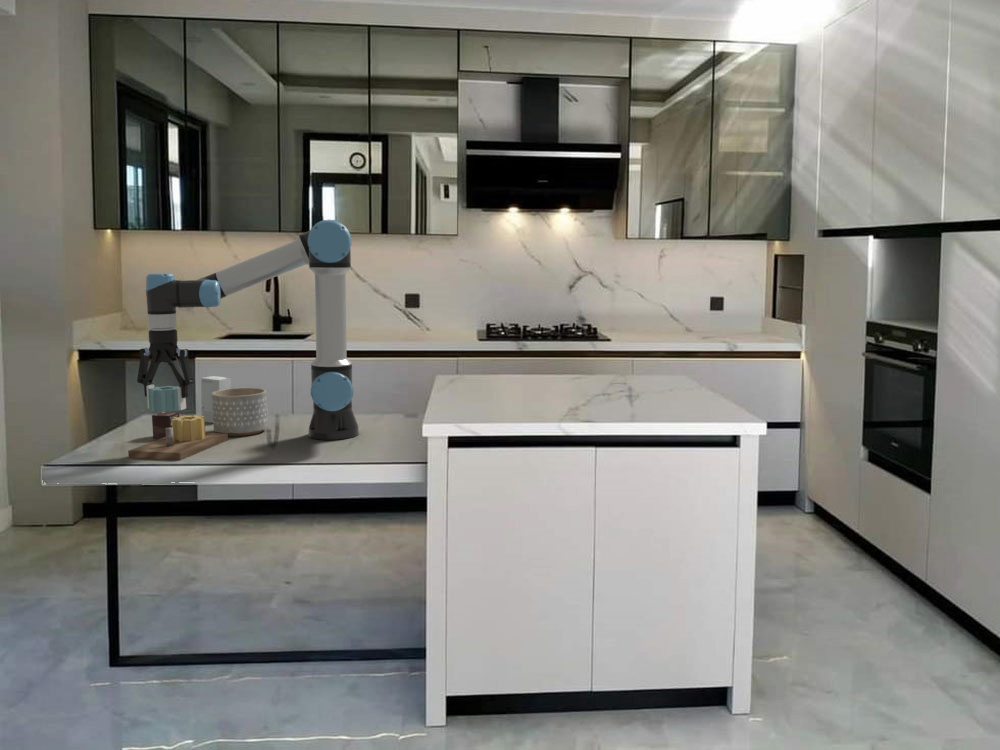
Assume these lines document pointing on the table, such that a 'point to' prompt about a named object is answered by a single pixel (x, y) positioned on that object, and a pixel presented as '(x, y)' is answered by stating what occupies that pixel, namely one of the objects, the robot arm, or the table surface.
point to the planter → (240, 411)
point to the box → (162, 423)
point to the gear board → (176, 446)
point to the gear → (163, 399)
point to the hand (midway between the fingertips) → (166, 408)
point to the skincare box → (207, 389)
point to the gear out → (188, 428)
